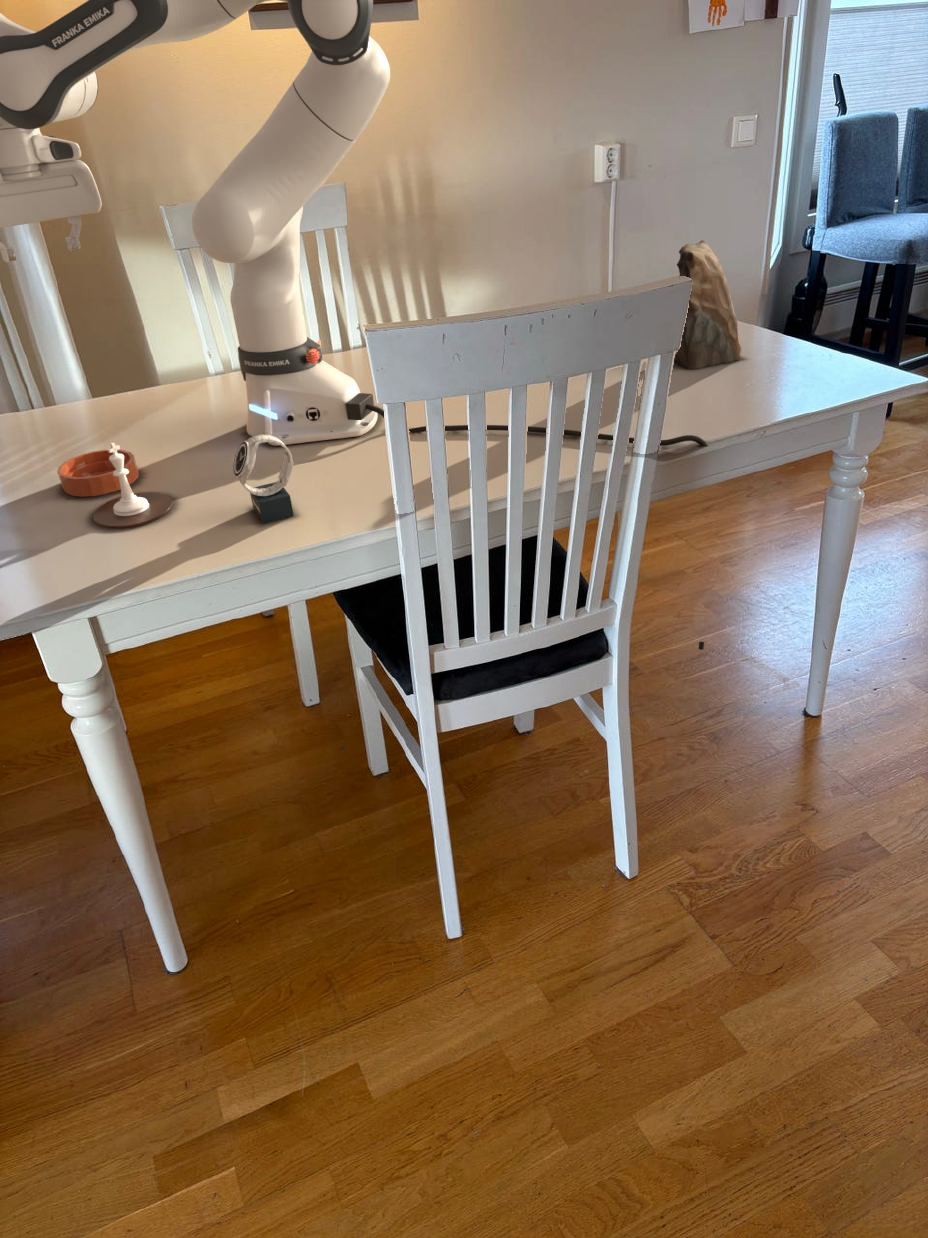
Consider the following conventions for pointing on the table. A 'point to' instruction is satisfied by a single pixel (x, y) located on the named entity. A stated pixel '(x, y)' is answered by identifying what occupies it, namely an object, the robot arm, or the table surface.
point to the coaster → (156, 510)
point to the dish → (94, 473)
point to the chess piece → (125, 488)
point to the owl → (707, 311)
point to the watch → (270, 497)
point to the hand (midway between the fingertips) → (43, 255)
